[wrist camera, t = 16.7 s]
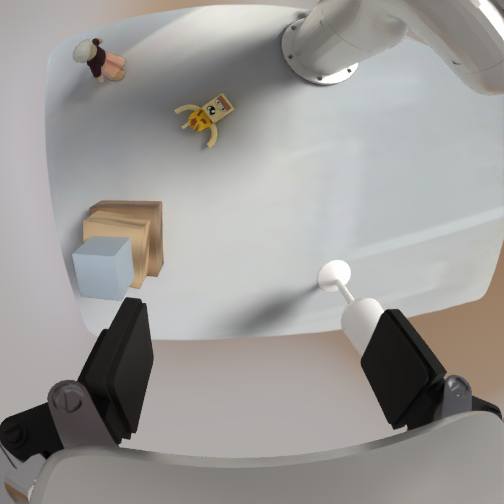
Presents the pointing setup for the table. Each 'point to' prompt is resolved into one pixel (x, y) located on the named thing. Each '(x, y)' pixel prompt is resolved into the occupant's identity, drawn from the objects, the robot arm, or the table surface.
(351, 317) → the champagne flute
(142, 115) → the table surface
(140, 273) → the tower top
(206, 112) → the character toy
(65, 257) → the table surface
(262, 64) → the table surface
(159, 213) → the tower bottom
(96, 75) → the grandmother figurine
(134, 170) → the table surface
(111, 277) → the blue cube
